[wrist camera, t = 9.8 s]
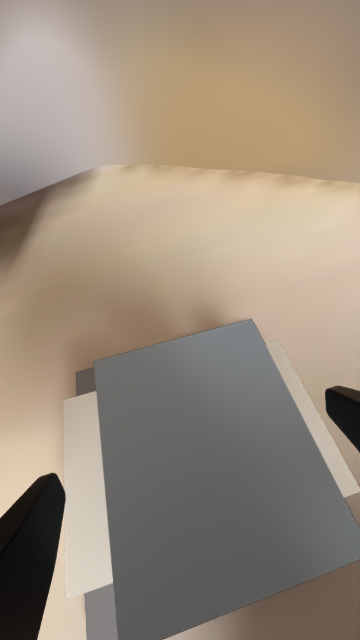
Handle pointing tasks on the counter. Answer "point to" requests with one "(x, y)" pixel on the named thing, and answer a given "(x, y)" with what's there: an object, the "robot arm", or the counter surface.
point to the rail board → (90, 501)
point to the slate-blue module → (210, 483)
